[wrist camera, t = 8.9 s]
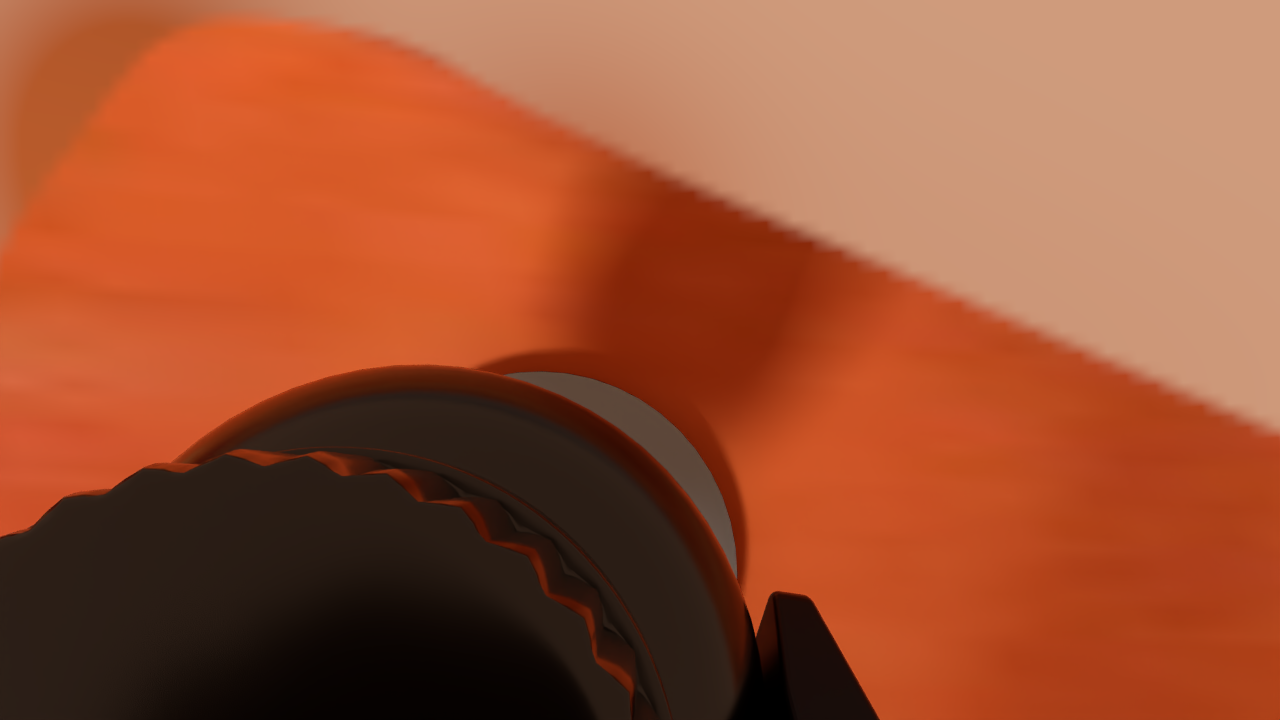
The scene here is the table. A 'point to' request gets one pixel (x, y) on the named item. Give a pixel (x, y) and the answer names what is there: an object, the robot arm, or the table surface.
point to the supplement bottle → (382, 571)
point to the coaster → (648, 442)
